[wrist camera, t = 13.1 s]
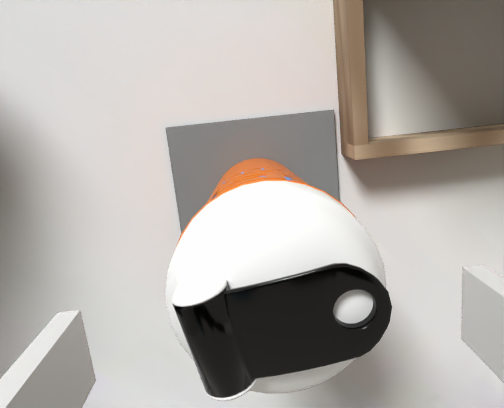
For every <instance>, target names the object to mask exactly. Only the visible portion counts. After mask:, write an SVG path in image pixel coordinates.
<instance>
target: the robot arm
mask: <svg viewBox="0 0 504 408" xmlns="http://www.w3.org/2000/svg"><path fill="white" fill-rule="evenodd" d="M461 339H462V340H463V341H464V342H465V343H466V344H467V345H468V346H469V347H470V348H471V349H472V350H473V352H474V353H475V354H476V355H477V356H478V357H479V358H480V359H481V360H482V361H483V362H484V363H485V364H486V365H487V366H488V367H489V368H490V369H491V370H492V371H493V372H494V373H495V374H496V375H497V377H498V378H499V379H500V380H501V381H502V382H503V383H504V277H503V276H501V275H500V274H498V273H497V272H495V271H493V270H492V269H490V268H489V267H487V266H486V265H477V266H468V267H462V325H461ZM95 381H96V379H95V374H94V370H93V365H92V361H91V356H90V351H89V347H88V342H87V338H86V333H85V329H84V324H83V320H82V315H81V311H80V310H75V311H66V312H58V313H57V314H56V315H55V316H54V317H53V319H52V320H51V321H50V322H49V323H48V324H47V325H46V327H45V328H44V329H43V330H42V331H41V332H40V334H39V335H38V336H37V337H36V338H35V339H34V341H33V342H32V343H31V344H30V345H29V346H28V347H27V349H26V350H25V351H24V352H23V353H22V354H21V356H20V357H19V358H18V359H17V360H16V361H15V362H14V364H13V365H12V366H11V367H10V368H9V369H8V371H7V372H6V373H5V374H4V375H3V376H2V377H1V379H0V408H82V406H83V404H84V402H85V401H86V399H87V397H88V395H89V393H90V391H91V389H92V387H93V385H94V383H95Z"/></svg>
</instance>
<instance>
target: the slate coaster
mask: <svg viewBox="0 0 504 408" xmlns="http://www.w3.org/2000/svg"><path fill="white" fill-rule="evenodd" d="M166 134H167V140H168V147H169V154H170V160H171V167H172V173H173V180H174V187H175V193H176V200H177V207H178V213H179V220H180V227H181V233H183V231H184V229H185V228H186V226H187V225H188V223H189V222H190V220H191V219H192V217H193V216H194V215H195V214H196V213H197V212H198V211H199V210H200V209H201V208H202V207H203V206H204V205H205V204H206V203H207V201H208V200H209V198H210V196H211V195H212V193H213V191H214V190H215V188H216V186H217V185H218V183H219V181H220V180H221V178H222V177H223V175H224V174H225V173H226V172H227V171H228V170H229V169H230V168H231V167H233V166H234V165H236V164H237V163H240V162H242V161H244V160H248V159H253V158H265V159H270V160H273V161H276V162H278V163H280V164H282V165H283V166H285V167H286V168H288V169H289V170H290V171H292V172H293V173H294V174H295V175H297V176H298V177H299V178H301V179H302V180H303V181H305V182H306V183H307V184H308V185H310V186H313V187H315V188H318V189H320V190H323V191H325V192H326V193H328V194H329V195H331V196H332V197H334V198H335V199H337V200H338V201H339V190H338V173H337V156H336V138H335V121H334V110H325V111H316V112H307V113H298V114H288V115H279V116H270V117H260V118H251V119H242V120H232V121H223V122H214V123H205V124H195V125H186V126H177V127H167V128H166Z"/></svg>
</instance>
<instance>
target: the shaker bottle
mask: <svg viewBox="0 0 504 408" xmlns="http://www.w3.org/2000/svg"><path fill="white" fill-rule="evenodd" d="M165 292H166V308H167V312H168V316H169V319H170V323H171V327H172V329H173V331H174V333H175V335H176V337H177V339H178V340H179V342H180V344H181V346H182V347H183V348H184V349H185V351H186V352H187V353H188V354H189V356H190V357H191V358H192V359H193V361H195V364H196V367H197V369H198V372H199V374H200V377H201V380H202V382H203V385H204V387H205V390H206V392H207V394H208V395H209V396H210V397H211V398H212V399H214V400H218V401H229V400H233V399H236V398H238V397H240V396H242V395H244V394H245V393H247V392H248V391H255V392H262V393H289V392H294V391H300V390H305V389H307V388H310V387H313V386H315V385H318V384H321V383H323V382H325V381H326V380H328V379H330V378H331V377H333V376H335V375H336V374H338V373H340V372H341V371H342V370H343V369H345V368H346V367H347V366H348V365H349V364H350V363H351V362H353V361H354V360H355V359H356V358H357V357H360V356H362V355H364V354H365V353H367V352H369V351H370V350H371V349H372V348H373V347H374V346H375V345H376V344H377V343H378V342H379V341H380V339H381V337H382V336H383V334H384V332H385V330H386V329H387V327H388V324H389V322H390V316H391V310H392V305H391V301H390V297H389V293H388V291H387V290H386V279H385V272H384V265H383V262H382V259H381V256H380V254H379V251H378V248H377V245H376V244H375V242H374V241H373V239H372V238H371V236H370V234H369V233H368V231H367V230H366V228H365V227H364V226H363V225H362V224H361V223H360V222H359V221H358V220H357V219H356V217H355V216H354V215H353V214H352V213H351V212H350V211H349V210H348V209H347V208H346V207H345V206H344V205H343V204H342V203H341V202H340V201H338V200H337V199H335V198H334V197H332V196H331V195H329V194H328V193H326V192H325V191H323V190H320V189H318V188H315V187H313V186H310V185H308V184H307V183H306V182H305V181H303V180H302V179H301V178H299V177H298V176H297V175H295V174H294V173H293V172H292V171H290V170H289V169H288V168H286V167H285V166H283V165H282V164H280V163H278V162H276V161H273V160H270V159H265V158H253V159H248V160H244V161H242V162H240V163H237V164H236V165H234V166H233V167H231V168H230V169H229V170H228V171H227V172H226V173H225V174H224V175H223V177H222V178H221V180H220V181H219V183H218V185H217V186H216V188H215V190H214V191H213V193H212V195H211V196H210V198H209V200H208V201H207V203H206V204H205V205H204V206H203V207H202V208H201V209H200V210H199V211H198V212H197V213H196V214H195V215H194V216H193V217H192V219H191V220H190V222H189V223H188V225H187V226H186V228H185V229H184V231H183V233H182V234H181V236H180V239H179V241H178V244H177V246H176V249H175V252H174V255H173V257H172V260H171V262H170V265H169V268H168V274H167V280H166V286H165Z"/></svg>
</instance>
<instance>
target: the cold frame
mask: <svg viewBox="0 0 504 408" xmlns="http://www.w3.org/2000/svg"><path fill="white" fill-rule="evenodd" d="M333 7H334V25H335V43H336V61H337V80H338V98H339V116H340V134H341V152H342V154H343V155H345V156H347V157H350V158H352V159H354V160H360V159H369V158H379V157H388V156H397V155H407V154H416V153H425V152H434V151H444V150H453V149H462V148H472V147H481V146H490V145H499V144H504V124H496V125H487V126H478V127H469V128H459V129H450V130H441V131H431V132H422V133H413V134H404V135H394V136H385V137H376V138H368V117H367V92H366V67H365V42H364V17H363V0H333Z"/></svg>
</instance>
